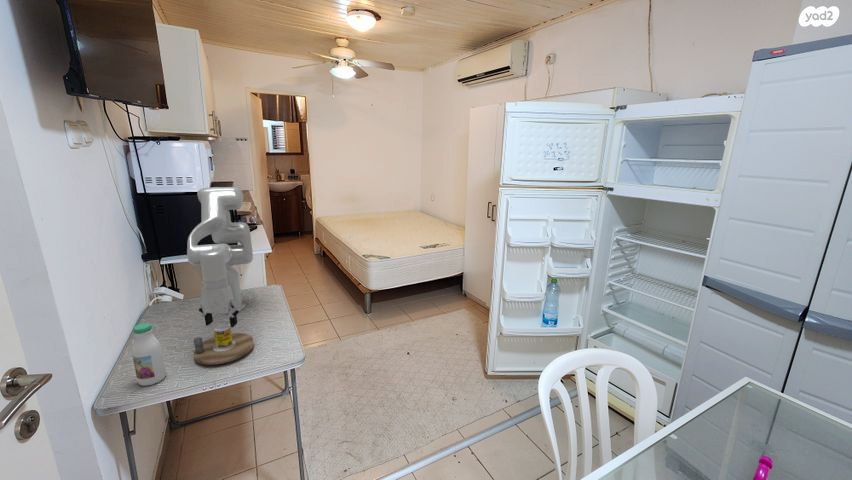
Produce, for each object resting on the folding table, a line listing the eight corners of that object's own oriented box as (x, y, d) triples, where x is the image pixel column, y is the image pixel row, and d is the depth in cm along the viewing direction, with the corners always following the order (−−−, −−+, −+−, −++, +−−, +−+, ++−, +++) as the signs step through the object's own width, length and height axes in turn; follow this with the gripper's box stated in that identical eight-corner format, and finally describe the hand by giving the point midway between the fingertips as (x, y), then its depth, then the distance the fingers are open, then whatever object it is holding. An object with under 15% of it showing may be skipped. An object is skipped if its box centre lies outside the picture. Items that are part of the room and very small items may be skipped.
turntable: (193, 345, 138) (190, 329, 137) (249, 331, 149) (247, 316, 147) (195, 371, 122) (192, 353, 121) (257, 353, 133) (255, 337, 131)
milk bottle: (157, 370, 124) (147, 318, 119) (171, 375, 122) (162, 322, 117) (132, 383, 117) (121, 328, 113) (147, 389, 115) (136, 333, 110)
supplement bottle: (216, 351, 132) (213, 326, 129) (215, 344, 136) (212, 320, 134) (233, 346, 135) (230, 322, 132) (232, 340, 139) (229, 316, 137)
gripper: (185, 285, 126) (193, 328, 131) (232, 288, 125) (237, 331, 130) (200, 277, 133) (206, 318, 138) (244, 280, 132) (249, 321, 137)
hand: (221, 324), depth 134 cm, fingers open, 9 cm apart
